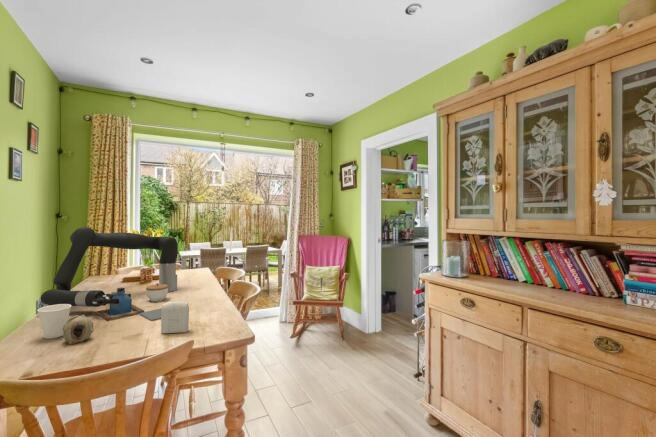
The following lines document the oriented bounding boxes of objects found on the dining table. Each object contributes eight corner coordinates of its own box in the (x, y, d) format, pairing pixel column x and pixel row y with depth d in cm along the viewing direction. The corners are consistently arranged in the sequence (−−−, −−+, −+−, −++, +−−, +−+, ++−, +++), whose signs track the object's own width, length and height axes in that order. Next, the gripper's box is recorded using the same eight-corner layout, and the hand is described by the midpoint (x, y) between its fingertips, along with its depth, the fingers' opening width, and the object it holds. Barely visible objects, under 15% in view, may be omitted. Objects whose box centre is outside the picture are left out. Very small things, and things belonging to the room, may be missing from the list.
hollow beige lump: (63, 348, 114) (53, 323, 114) (88, 336, 122) (79, 313, 122) (77, 345, 111) (67, 319, 110) (102, 333, 118) (92, 309, 118)
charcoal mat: (169, 307, 157) (169, 306, 157) (182, 313, 149) (182, 312, 149) (138, 314, 147) (138, 313, 147) (151, 321, 138) (151, 319, 138)
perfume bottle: (131, 311, 150) (131, 287, 150) (121, 315, 144) (122, 290, 144) (119, 311, 151) (119, 286, 151) (109, 315, 145) (109, 289, 145)
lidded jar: (156, 303, 164) (156, 286, 164) (141, 301, 168) (141, 284, 167) (172, 298, 174) (172, 282, 174) (157, 296, 178) (158, 280, 178)
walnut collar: (132, 306, 158) (132, 304, 158) (144, 312, 149) (144, 310, 149) (96, 313, 147) (96, 311, 146) (107, 321, 137) (107, 318, 137)
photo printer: (189, 329, 129) (190, 299, 129) (187, 332, 125) (187, 302, 125) (162, 330, 127) (162, 300, 127) (159, 334, 123) (159, 303, 123)
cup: (32, 343, 113) (32, 313, 113) (42, 333, 122) (42, 305, 122) (67, 338, 118) (67, 309, 118) (74, 329, 127) (74, 302, 126)
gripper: (78, 294, 140) (114, 294, 140) (100, 287, 154) (133, 287, 155) (78, 310, 140) (114, 311, 141) (100, 302, 154) (133, 302, 155)
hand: (124, 298), depth 148 cm, fingers open, 8 cm apart
